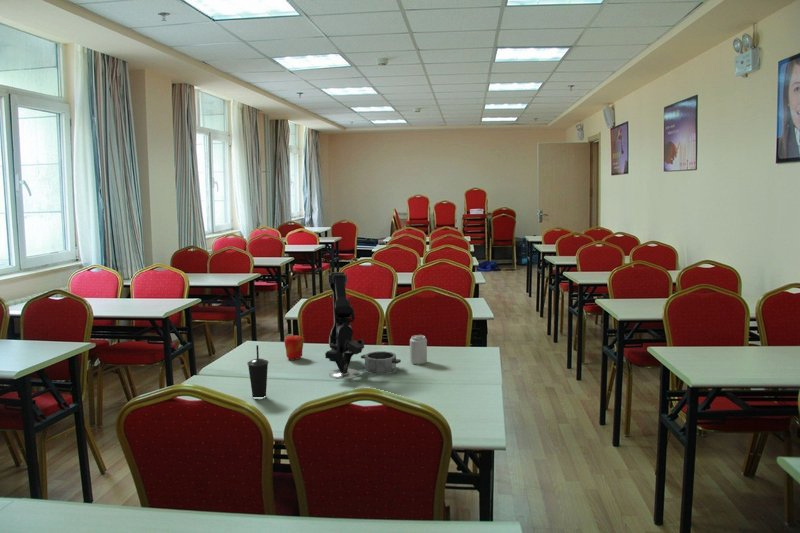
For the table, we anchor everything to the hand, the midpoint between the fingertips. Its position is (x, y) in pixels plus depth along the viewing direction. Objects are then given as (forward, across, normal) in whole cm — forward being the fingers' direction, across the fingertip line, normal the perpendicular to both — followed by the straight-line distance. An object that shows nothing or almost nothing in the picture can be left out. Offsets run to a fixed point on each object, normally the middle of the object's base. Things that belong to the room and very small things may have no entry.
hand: (344, 370), depth 266 cm
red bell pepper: (+2, +9, +33) cm, 34 cm away
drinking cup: (+2, -39, +12) cm, 41 cm away
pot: (+2, +13, -10) cm, 16 cm away
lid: (+2, 0, 0) cm, 2 cm away
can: (+2, +29, -20) cm, 35 cm away
